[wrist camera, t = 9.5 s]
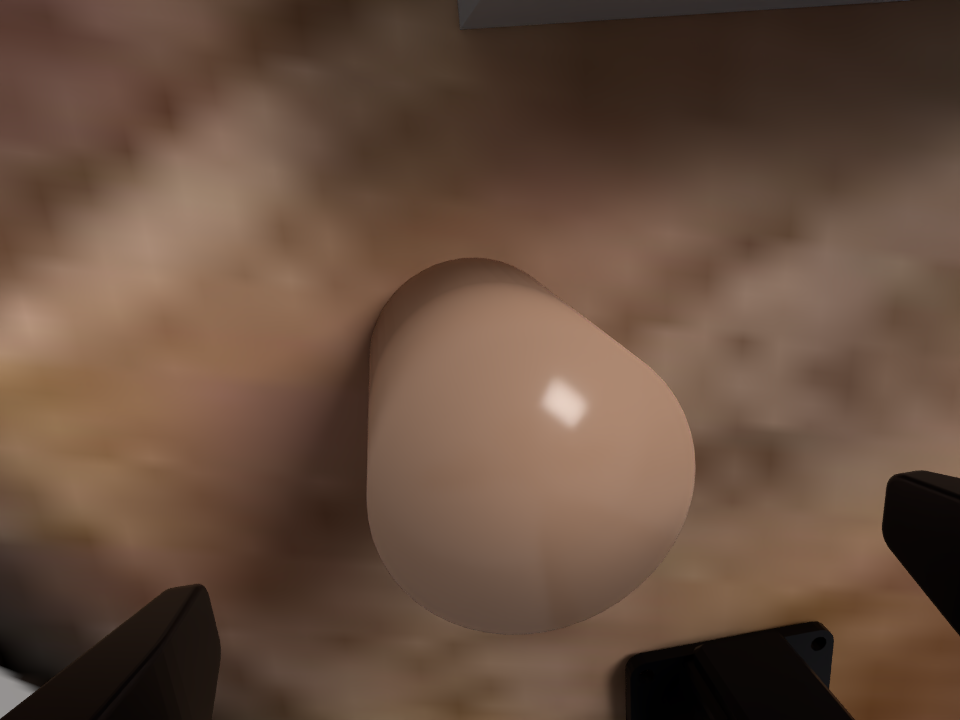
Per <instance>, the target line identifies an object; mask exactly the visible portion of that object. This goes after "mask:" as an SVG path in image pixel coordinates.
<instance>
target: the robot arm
mask: <svg viewBox="0 0 960 720" xmlns="http://www.w3.org/2000/svg"><path fill="white" fill-rule="evenodd" d="M882 533H883V537H884V540H885V542H886V544H887V546H888V547H889V549H890V550H891V551H892V552H893V554H894V555H895V556H896V557H897V559H898V560H899V561H900V562H901V564H902V565H903V566H904V567H905V569H906V570H907V571H908V572H909V574H910V575H911V576H912V577H913V579H914V580H915V581H916V582H917V584H918V585H919V586H920V587H921V589H922V590H923V591H924V592H925V594H926V595H927V596H928V597H929V599H930V600H931V601H932V602H933V604H934V605H935V606H936V607H937V609H938V610H939V611H940V612H941V614H942V615H943V616H944V617H945V619H946V620H947V621H948V622H949V624H950V625H951V626H952V627H953V628H954V630H955V631H956V632H957V633H958V634H959V636H960V478H957V477H952V476H947V475H943V474H938V473H934V472H929V471H923V470H921V471H912V472H906V473H900V474H896V475H894V476H892V477H891V478H890V479H889V481H888V483H887V487H886V496H885V504H884V513H883V522H882ZM833 643H834V639H833V635H832V634H831V633H830V632H829V630H828V629H827V628H826V627H825V626H824V625H823V624H822V623H819V622H807V623H801V624H796V625H790V626H785V627H780V628H774V629H769V630H764V631H758V632H753V633H747V634H742V635H737V636H731V637H726V638H721V639H715V640H710V641H704V642H699V643H694V644H688V645H683V646H678V647H672V648H667V649H661V650H656V651H651V652H645V653H640V654H638V655H635V656H634V657H632V658H631V659H630V660H629V661H628V663H627V664H626V669H625V679H626V720H855V719H854V718H853V717H852V716H851V715H850V713H849V712H848V711H847V710H846V709H845V708H844V706H843V705H842V704H841V703H840V702H839V701H838V699H837V698H836V697H835V696H834V695H833V693H832V692H831V691H830V690H829V684H830V674H831V664H832V654H833ZM220 658H221V647H220V639H219V635H218V631H217V627H216V622H215V618H214V614H213V610H212V606H211V602H210V598H209V594H208V592H207V590H206V588H205V587H204V586H203V585H201V584H193V585H187V586H180V587H174V588H170V589H167V590H165V591H164V592H163V593H161V594H160V595H159V596H157V597H156V598H155V599H154V600H152V601H151V602H150V603H148V604H147V605H146V606H145V607H143V608H142V609H141V610H139V611H138V612H137V613H136V614H134V615H133V616H132V617H130V618H129V619H128V620H127V621H125V622H124V623H123V624H121V625H120V626H119V627H118V628H116V629H115V630H114V631H112V632H111V633H110V634H109V635H107V636H106V637H105V638H103V639H102V640H101V641H100V642H98V643H97V644H96V645H94V646H93V647H92V648H91V649H89V650H88V651H87V652H85V653H84V654H83V655H82V656H80V657H79V658H78V659H76V660H75V661H74V662H73V663H71V664H70V665H69V666H67V667H66V668H65V669H64V670H62V671H61V672H60V673H58V674H57V675H56V676H55V677H53V678H52V679H51V680H49V681H48V682H47V683H46V684H44V685H43V686H42V687H40V688H39V689H38V690H37V691H35V692H34V693H33V694H32V695H30V696H29V697H28V698H26V699H25V700H24V701H23V702H21V703H20V704H19V705H17V706H16V707H15V708H14V709H12V710H11V711H10V712H8V713H7V714H6V715H5V716H3V717H2V718H1V719H0V720H212V713H213V706H214V700H215V693H216V686H217V680H218V673H219V666H220ZM644 670H647V671H646V672H644V673H642V674H640V673H641V672H642V671H644Z"/></svg>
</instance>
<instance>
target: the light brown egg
mask: <svg viewBox="0 0 960 720" xmlns="http://www.w3.org/2000/svg"><path fill="white" fill-rule="evenodd" d="M694 480H695V451H694V445H693V440H692V435H691V431H690V428H689V425H688V422H687V419H686V417H685V414H684V412H683V410H682V408H681V406H680V404H679V402H678V400H677V399H676V397H675V395H674V394H673V393H672V391H671V390H670V388H669V387H668V386H667V384H666V383H665V382H664V380H663V379H662V378H661V377H660V376H659V375H658V374H657V373H655V372H654V371H653V370H652V369H651V368H650V367H649V366H648V365H647V364H646V363H644V362H643V361H642V360H640V359H639V358H638V357H636V356H635V355H634V354H632V353H631V352H630V351H628V350H627V349H626V348H624V347H623V346H622V345H621V344H619V343H618V342H617V341H615V340H614V339H613V338H611V337H610V336H609V335H607V334H606V333H605V332H603V331H602V330H601V329H599V328H598V327H597V326H596V325H594V324H593V323H592V322H590V321H589V320H588V319H586V318H585V317H584V316H582V315H581V314H580V313H578V312H577V311H576V310H574V309H573V308H572V307H571V306H569V305H568V304H567V303H565V302H564V301H563V300H561V299H560V298H559V297H557V296H556V295H555V294H553V293H552V292H551V291H549V290H548V289H547V288H546V287H544V286H543V285H542V284H540V283H539V282H538V281H536V280H535V279H534V278H532V277H531V276H530V275H528V274H527V273H525V272H523V271H522V270H520V269H518V268H516V267H514V266H511V265H509V264H506V263H504V262H500V261H496V260H491V259H484V258H461V259H455V260H450V261H446V262H443V263H439V264H436V265H434V266H432V267H430V268H427V269H425V270H423V271H421V272H420V273H418V274H417V275H415V276H414V277H412V278H411V279H409V280H408V281H407V282H406V283H405V284H403V285H402V286H401V287H400V288H399V289H398V290H397V291H396V292H395V293H394V295H393V296H392V297H391V298H390V299H389V301H388V302H387V304H386V305H385V307H384V308H383V310H382V312H381V314H380V316H379V318H378V320H377V322H376V325H375V328H374V331H373V334H372V339H371V344H370V356H369V400H368V449H367V498H366V500H367V512H368V521H369V526H370V530H371V534H372V539H373V541H374V544H375V546H376V549H377V551H378V554H379V556H380V558H381V560H382V562H383V563H384V565H385V567H386V568H387V570H388V572H389V574H390V575H391V576H392V577H393V579H394V580H395V581H396V582H397V584H398V585H399V586H400V587H401V588H402V589H403V590H404V591H405V592H406V593H407V594H408V595H409V596H410V597H411V598H412V599H413V600H414V601H415V602H417V603H418V604H420V605H421V606H423V607H424V608H425V609H427V610H428V611H430V612H431V613H433V614H435V615H437V616H439V617H441V618H443V619H445V620H447V621H449V622H451V623H454V624H457V625H460V626H462V627H465V628H469V629H473V630H478V631H482V632H487V633H496V634H532V633H540V632H547V631H551V630H555V629H559V628H564V627H567V626H570V625H573V624H576V623H578V622H581V621H584V620H586V619H588V618H591V617H593V616H595V615H597V614H599V613H601V612H603V611H605V610H606V609H608V608H610V607H611V606H613V605H614V604H616V603H618V602H619V601H621V600H622V599H623V598H625V597H626V596H627V595H629V594H630V593H631V592H632V591H634V590H635V589H636V588H637V587H638V586H639V585H640V584H642V583H643V582H644V581H645V580H646V579H647V578H648V577H649V576H650V575H651V574H652V573H653V571H654V570H655V569H656V568H657V567H658V565H659V564H660V563H661V562H662V561H663V559H664V558H665V556H666V555H667V553H668V552H669V550H670V549H671V547H672V546H673V544H674V543H675V541H676V539H677V537H678V535H679V533H680V531H681V529H682V527H683V524H684V522H685V519H686V516H687V513H688V510H689V508H690V503H691V499H692V494H693V490H694Z"/></svg>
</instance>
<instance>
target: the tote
mask: <svg viewBox="0 0 960 720" xmlns="http://www.w3.org/2000/svg"><path fill="white" fill-rule="evenodd" d="M893 1H908V0H458V11H459V23H460V30H462V29H477V28H493V27H508V26H523V25H539V24H554V23H570V22H585V21H600V20H616V19H631V18H647V17H662V16H677V15H693V14H708V13H724V12H739V11H754V10H770V9H785V8H801V7H816V6H831V5H847V4H862V3H877V2H893Z"/></svg>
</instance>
